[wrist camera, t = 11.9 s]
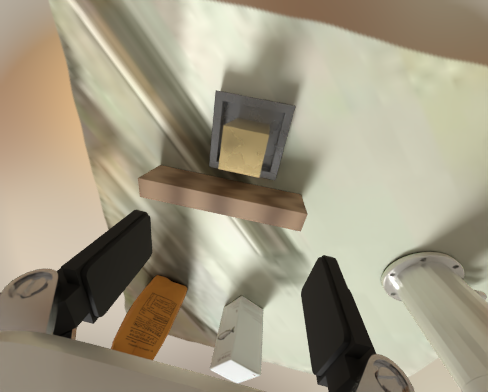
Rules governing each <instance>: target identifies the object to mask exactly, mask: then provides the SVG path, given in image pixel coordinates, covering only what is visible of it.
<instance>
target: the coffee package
mask: <svg viewBox="0 0 488 392" xmlns="http://www.w3.org/2000/svg"><path fill="white" fill-rule="evenodd" d="M186 292H187V287H186V286H184V285H181V284H178V283H174V282H172V281H170V280H169V279H168V278H166V277H162V276H159V275H157V276H155V277H154V278H153V280H152V281H151V282H150V283H149V284H148V285H147V287H146V288H145V289H144V290H143V291H142V293H141V294H140V295H139V297H138V298H137V299H136V300H135V302H134V303H133V305H132V306H131V308H130V309H129V311H128V312H127V314H126V316H125V318H124V320H123V322H122V324H121V326H120V328H119V330H118V332H117V334H116V336H115V338H114V341H113V344H112V347H111V349H112V350H116V351H119V352H123V353H127V354H131V355H134V356H138V357H142V358H146V359H149V360H153V359H154V357H155V356H156V354H157V353H158V351H159V349H160V348H161V346H162V344H163V343H164V341H165V338H166V337H167V335H168V333H169V331H170V329H171V327H172V324H173V322H174V320H175V318H176V316H177V313H178V311H179V309H180V307H181V305H182V302H183V300H184V298H185V295H186Z"/></svg>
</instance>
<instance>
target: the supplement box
mask: <svg viewBox="0 0 488 392" xmlns="http://www.w3.org/2000/svg"><path fill="white" fill-rule="evenodd" d="M262 333H263V309H261V308H260V307H258V306H257V305H256V304H254V303H253V302H251V301H249V300H248V299H246V298H245V297H243V296H240V297H239V298H238V299H236V300H235V301H233V302H232V303H230V304H229V305H227V306H225V307H224V309H223V314H222V318H221V322H220V327H219V331H218V335H217V340H216V344H215V349H214V353H213V357H212V362H211V366H210V370H212V371H213V372H215V373H217V374H219V375H221V376H223V377H225V378H227V379H229V380H231V381H233V382H235V383H240V382H243V381H245V380H248V379H251V378H254V377H257V376H260V375H261V360H262Z"/></svg>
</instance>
